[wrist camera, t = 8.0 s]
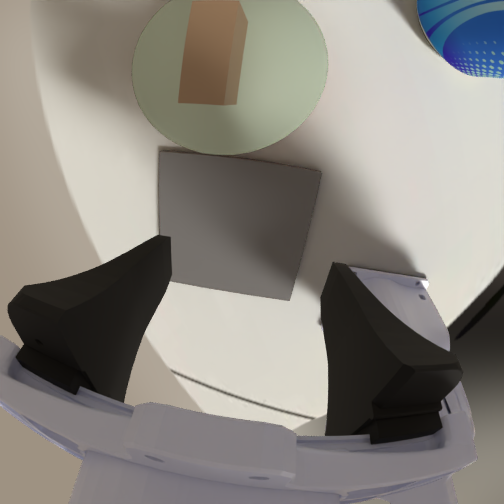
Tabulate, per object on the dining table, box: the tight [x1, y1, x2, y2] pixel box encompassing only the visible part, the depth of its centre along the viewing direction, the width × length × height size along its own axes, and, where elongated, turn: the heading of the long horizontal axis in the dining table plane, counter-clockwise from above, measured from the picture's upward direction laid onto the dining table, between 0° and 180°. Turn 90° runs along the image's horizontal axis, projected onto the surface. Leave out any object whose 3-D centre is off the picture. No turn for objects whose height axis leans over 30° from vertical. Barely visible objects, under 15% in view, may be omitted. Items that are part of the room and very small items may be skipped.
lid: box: [132, 0, 328, 155], centre depth 11 cm, size 11×11×4 cm
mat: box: [159, 151, 322, 301], centre depth 22 cm, size 12×12×1 cm
